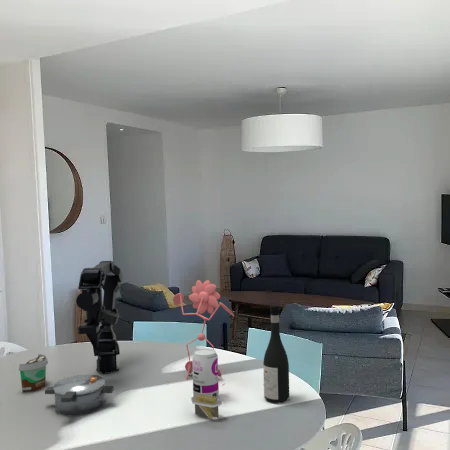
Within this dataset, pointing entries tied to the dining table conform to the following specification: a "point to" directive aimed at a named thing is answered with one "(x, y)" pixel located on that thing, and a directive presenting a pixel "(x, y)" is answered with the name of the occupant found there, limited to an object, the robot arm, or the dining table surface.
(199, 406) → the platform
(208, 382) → the supplement can
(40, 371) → the food container
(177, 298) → the figurine
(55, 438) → the dining table surface
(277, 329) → the wine bottle
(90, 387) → the cooker lid
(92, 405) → the cooker pot
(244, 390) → the dining table surface
